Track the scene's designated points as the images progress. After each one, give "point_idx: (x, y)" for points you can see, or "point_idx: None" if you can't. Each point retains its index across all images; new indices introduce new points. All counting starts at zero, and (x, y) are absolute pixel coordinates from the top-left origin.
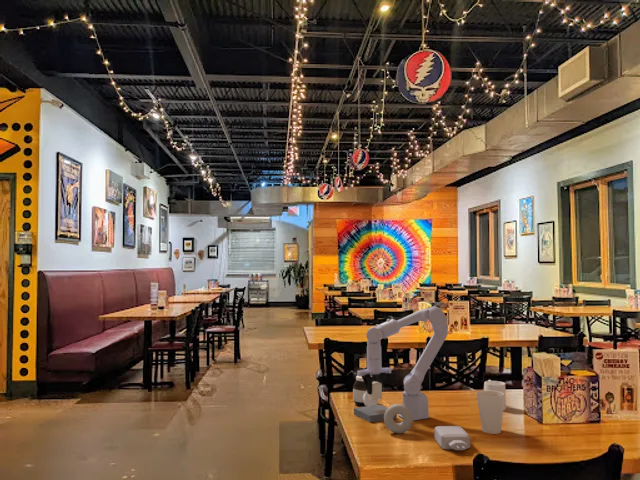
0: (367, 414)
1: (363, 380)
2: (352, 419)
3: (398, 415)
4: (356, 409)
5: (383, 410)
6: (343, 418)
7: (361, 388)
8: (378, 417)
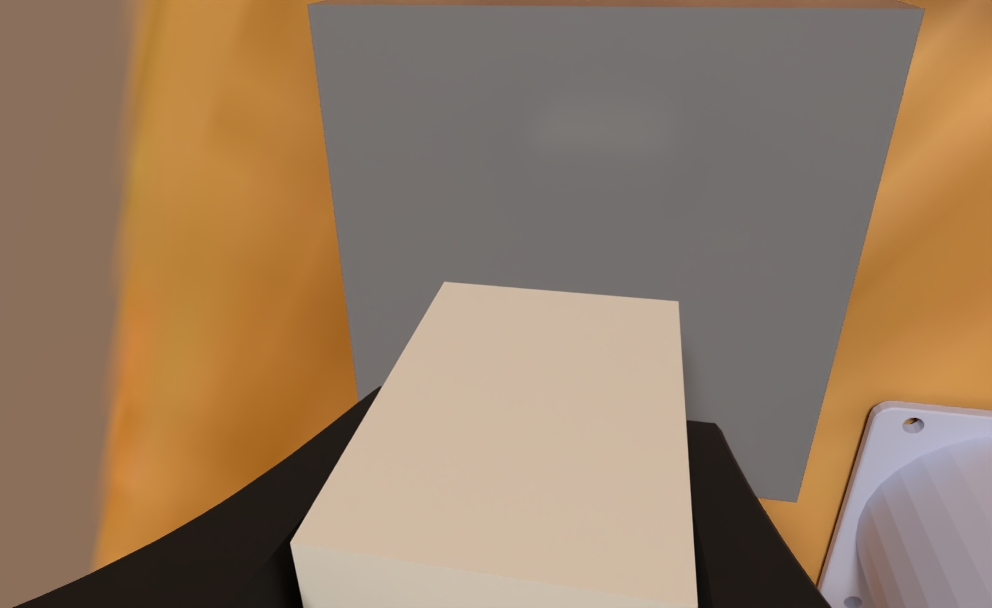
0: (360, 398)
1: (62, 588)
2: (249, 199)
3: (873, 412)
4: (320, 102)
5: None
6: (151, 101)
7: None
8: None
